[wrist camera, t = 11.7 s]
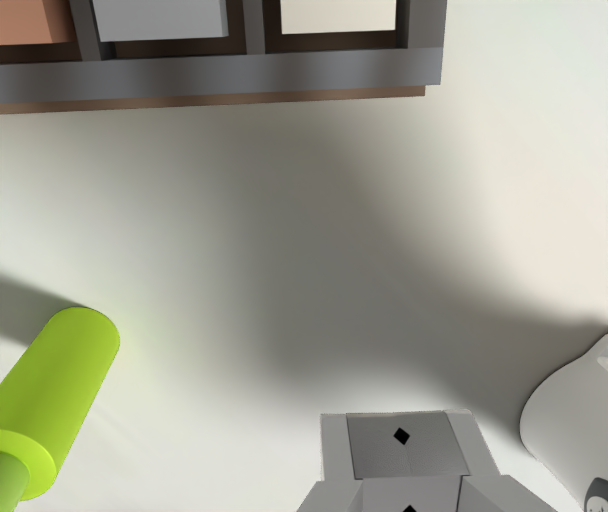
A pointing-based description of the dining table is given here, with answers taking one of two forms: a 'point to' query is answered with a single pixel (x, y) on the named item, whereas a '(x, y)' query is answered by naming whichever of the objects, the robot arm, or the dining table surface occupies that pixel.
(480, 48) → the dining table surface
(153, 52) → the compartment tray
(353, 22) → the cream key
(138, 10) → the grey key
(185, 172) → the dining table surface
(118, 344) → the soap dispenser
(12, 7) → the terracotta key
